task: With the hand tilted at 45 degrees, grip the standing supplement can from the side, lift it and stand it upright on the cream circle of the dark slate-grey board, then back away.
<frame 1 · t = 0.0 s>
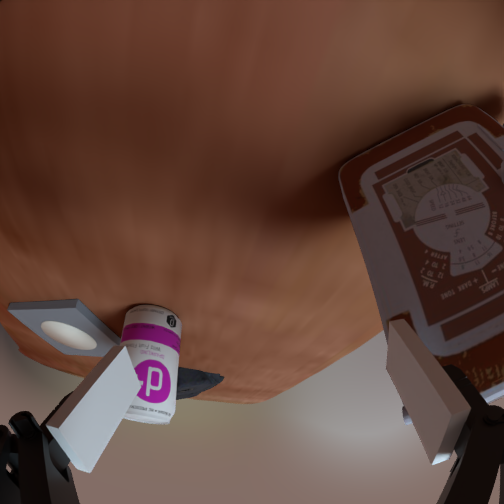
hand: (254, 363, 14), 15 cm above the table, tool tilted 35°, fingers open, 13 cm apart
supplement can: (154, 315, 41), on the table
crumpled black cloth: (182, 378, 67), on the table
cine camera: (437, 145, 21), on the table, touching gripper
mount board: (70, 328, 46), on the table
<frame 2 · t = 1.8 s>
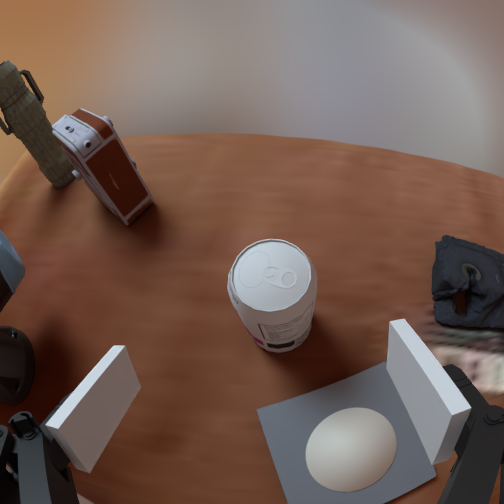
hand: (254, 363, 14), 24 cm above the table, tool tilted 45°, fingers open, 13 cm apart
supplement can: (279, 323, 39), on the table
thermos: (66, 175, 64), on the table
crumpled black cloth: (486, 289, 37), on the table
cine camera: (119, 196, 56), on the table
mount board: (350, 449, 29), on the table
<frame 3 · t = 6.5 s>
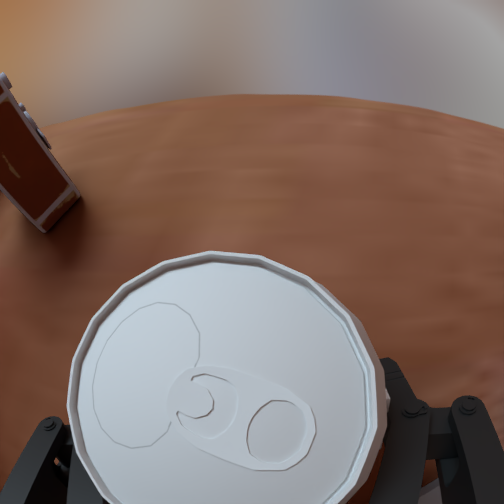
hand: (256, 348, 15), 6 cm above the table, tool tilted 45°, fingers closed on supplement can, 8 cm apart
supplement can: (271, 413, 18), on the table, touching gripper
cine camera: (47, 193, 36), on the table
when the fingers open (9 cm above the table, at t = 13.1 s): supplement can drops 1 cm, resting on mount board.
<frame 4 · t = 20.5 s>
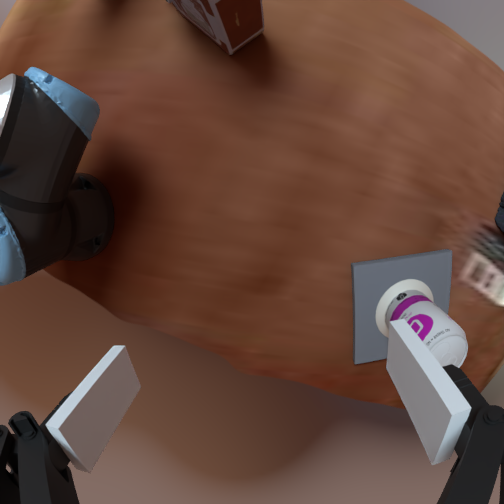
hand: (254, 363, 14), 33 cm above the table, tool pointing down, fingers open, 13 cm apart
supplement can: (405, 310, 45), point 2 cm above the table, touching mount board
cine camera: (211, 14, 37), on the table
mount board: (402, 306, 46), on the table
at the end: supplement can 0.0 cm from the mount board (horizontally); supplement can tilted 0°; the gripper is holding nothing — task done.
